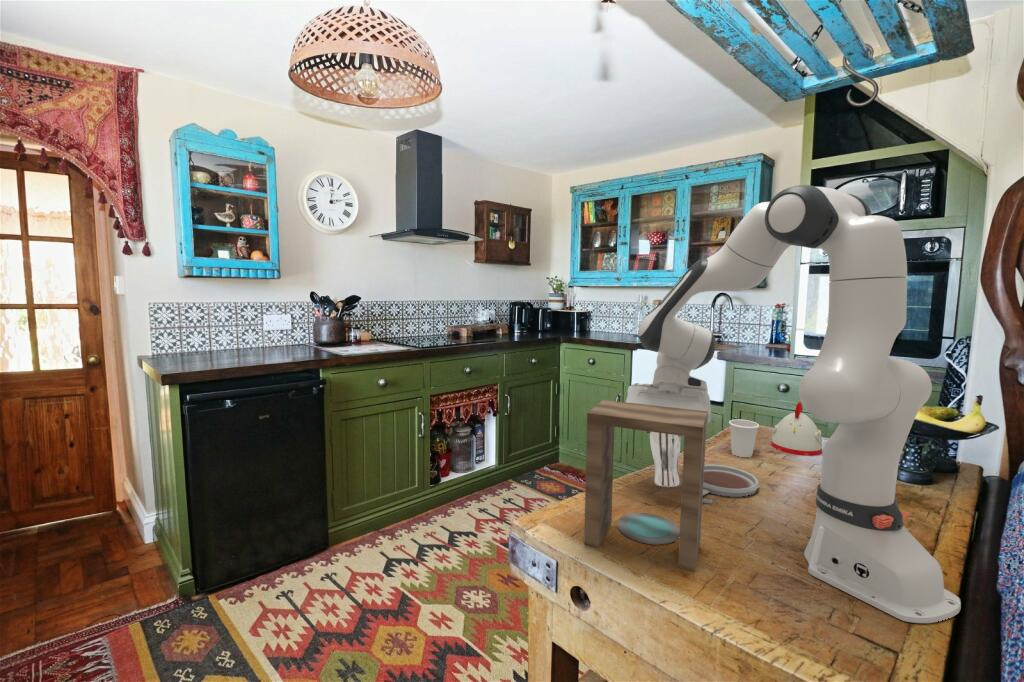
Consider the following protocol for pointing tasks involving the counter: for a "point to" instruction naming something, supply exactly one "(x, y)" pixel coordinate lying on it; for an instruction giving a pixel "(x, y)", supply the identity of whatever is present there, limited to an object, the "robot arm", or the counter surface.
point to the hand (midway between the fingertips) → (663, 434)
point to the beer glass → (665, 458)
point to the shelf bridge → (601, 476)
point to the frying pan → (727, 482)
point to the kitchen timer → (797, 434)
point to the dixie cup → (743, 437)
